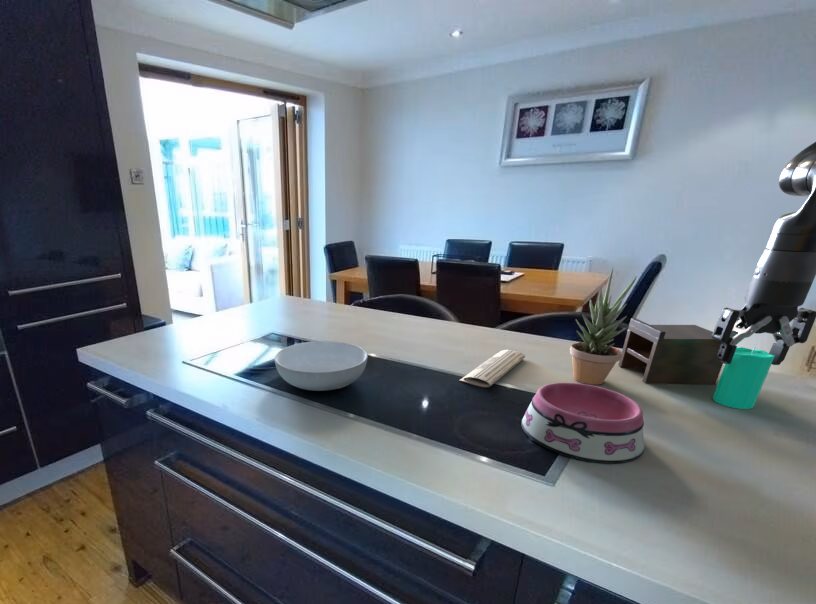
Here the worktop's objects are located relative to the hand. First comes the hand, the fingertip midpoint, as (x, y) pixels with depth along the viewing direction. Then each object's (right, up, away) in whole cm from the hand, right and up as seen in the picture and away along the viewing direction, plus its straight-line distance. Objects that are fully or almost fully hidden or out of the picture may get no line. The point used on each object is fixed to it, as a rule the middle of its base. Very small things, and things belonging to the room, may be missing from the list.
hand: (748, 363), depth 83 cm
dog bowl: (-36, -13, -6) cm, 39 cm away
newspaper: (-39, -1, +23) cm, 45 cm away
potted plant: (-20, -3, +16) cm, 26 cm away
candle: (0, -8, +3) cm, 8 cm away
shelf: (-2, -2, +17) cm, 17 cm away
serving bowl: (-80, -4, +18) cm, 83 cm away
